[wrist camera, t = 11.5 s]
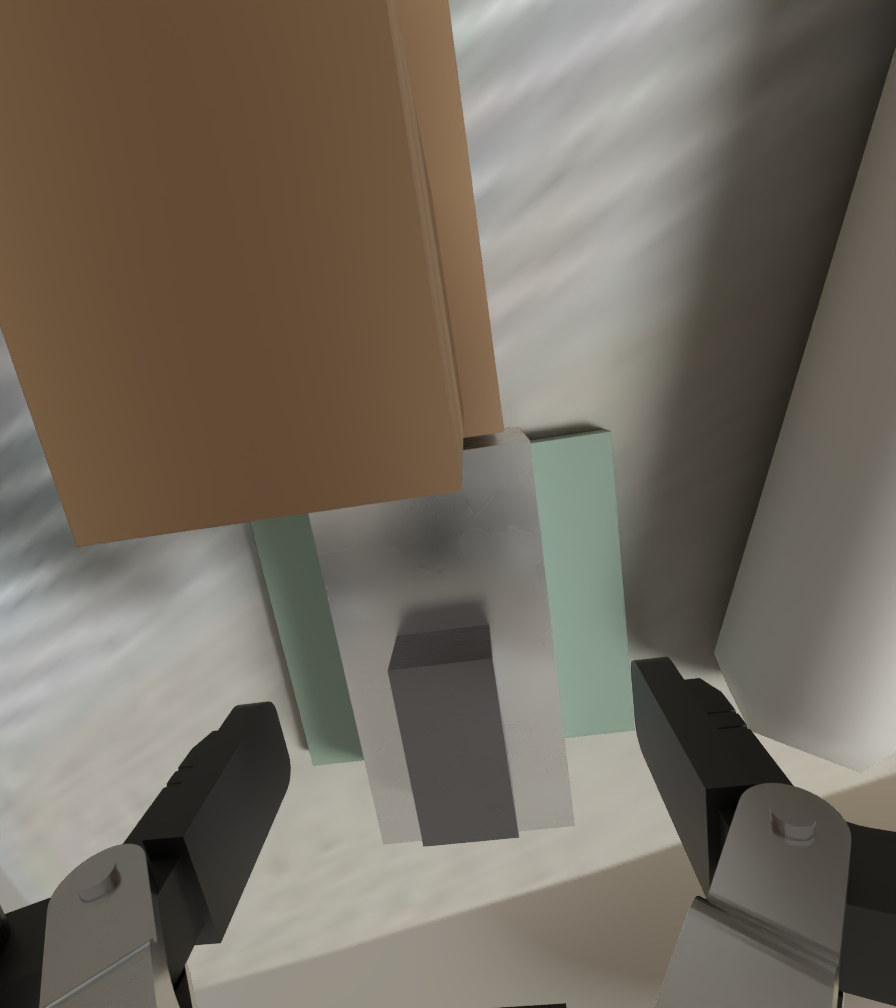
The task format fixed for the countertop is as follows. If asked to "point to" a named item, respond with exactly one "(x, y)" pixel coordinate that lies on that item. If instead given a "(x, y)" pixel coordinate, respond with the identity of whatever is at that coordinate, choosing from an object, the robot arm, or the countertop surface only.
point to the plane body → (240, 257)
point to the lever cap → (452, 652)
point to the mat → (570, 585)
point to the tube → (831, 507)
